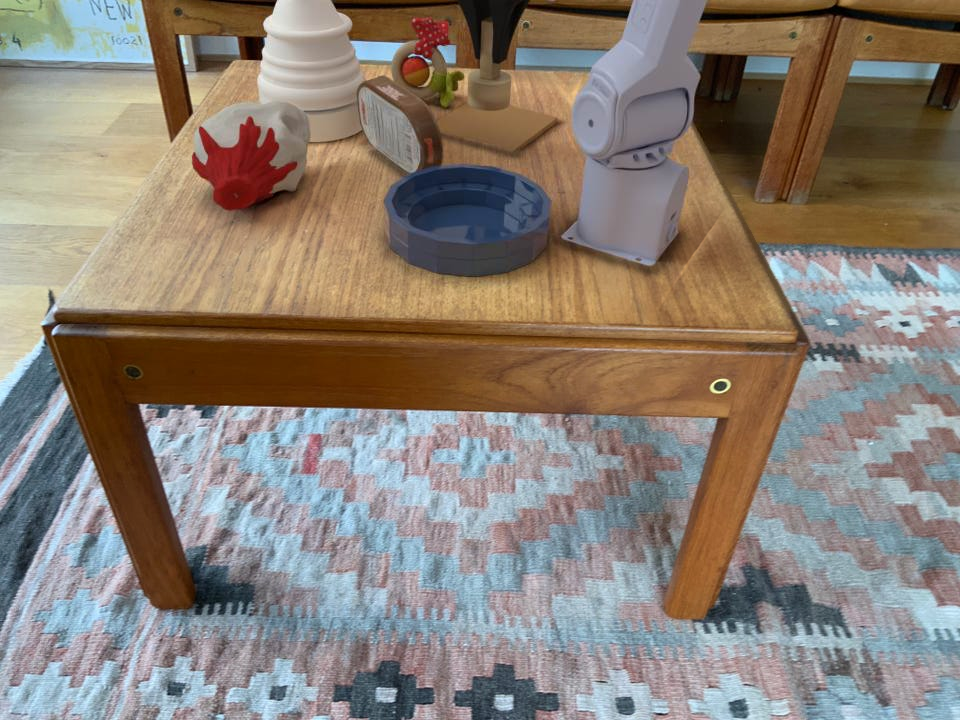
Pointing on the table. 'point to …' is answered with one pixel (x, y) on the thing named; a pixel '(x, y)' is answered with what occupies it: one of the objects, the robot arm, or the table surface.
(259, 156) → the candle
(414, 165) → the tin
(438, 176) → the bowl
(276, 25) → the honey pot
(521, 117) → the mat
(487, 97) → the wooden peg on disc
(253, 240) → the table surface
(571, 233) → the robot arm
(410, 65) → the bird rattle
